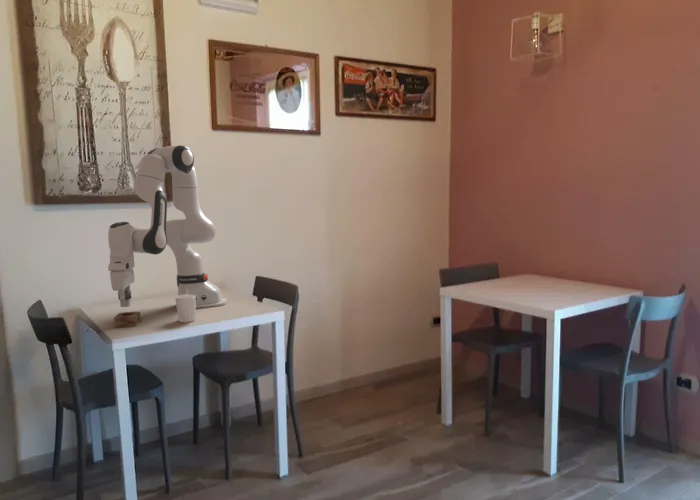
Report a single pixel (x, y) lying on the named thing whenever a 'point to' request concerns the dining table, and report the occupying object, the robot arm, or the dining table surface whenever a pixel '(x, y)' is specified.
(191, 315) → the white cup
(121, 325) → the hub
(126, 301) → the knob
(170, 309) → the dining table surface
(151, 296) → the dining table surface
